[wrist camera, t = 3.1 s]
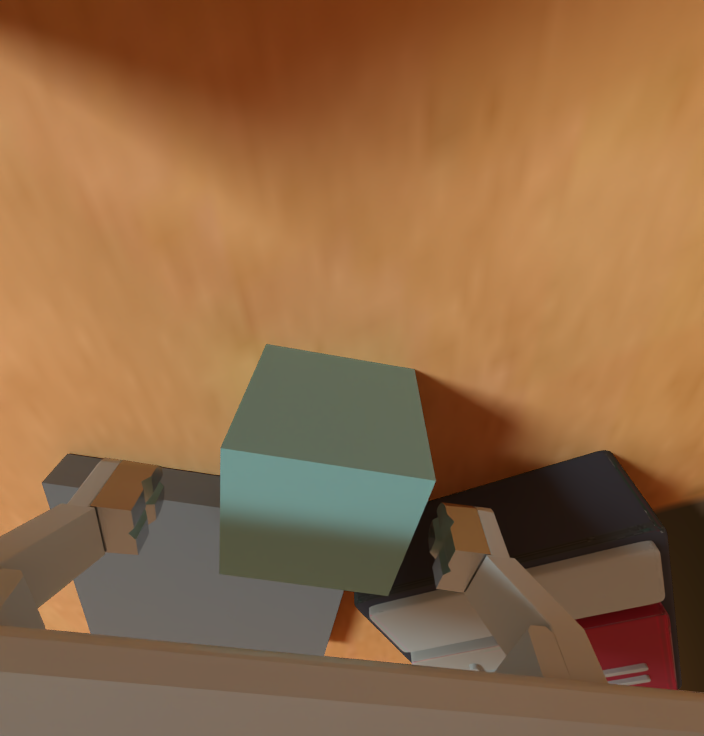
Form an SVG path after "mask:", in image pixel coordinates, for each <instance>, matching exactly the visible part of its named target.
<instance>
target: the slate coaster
mask: <svg viewBox="0 0 704 736" xmlns="http://www.w3.org/2000/svg"><path fill="white" fill-rule="evenodd" d="M101 460H103V459H99V458H92V457H86V456H79V455H72V454H67V455H66V456H65V457H64V458H63V459H62V460H61V462H60V463H59V464H58V465H57V466H56V467H55V468H54V469H53V471H52V472H51V473H50V474H49V475H48V476H47V477H46V478H45V480H44V481H43V482H42V485H43V488H44V491H45V494H46V497H47V500H48V504H49V507H50V509H52V508H54V507H56V506H58V505H59V504H61V503H62V504H68V502H69V501H70V500H71V498H72V497H73V496H74V494H75V493H76V492H77V490H78V489H79V488H80V486H81V485H82V484H83V483H84V481H85V480H86V479H87V477H88V476H89V475H90V473H91V472H92V471H93V469H94V468H95V467H96V465H97V464H98V463H99V462H100V461H101ZM162 471H163V476H162V478H161V480H160V482H161V483H162V484H163V485H164V491H165V493H164V501H163V504H162V508H161V511H160V513H159V515H158V517H157V519H156V520H155V521H153V522H152V523H150V524H149V525H148V527H149V535H148V537H147V539H146V541H145V543H144V545H143V547H142V549H141V551H140V553H139V555H131V554H119V553H107V552H105V555H104V556H102V557H101V558H100V559H99V560H97V561H96V562H95V563H94V564H92V565H91V566H90V567H89V568H87V569H86V570H85V571H84V572H82V573H81V574H80V575H79V576H77V577H76V578H75V579H74V583H75V587H76V590H77V593H78V596H79V599H80V602H81V605H82V608H83V611H84V614H85V617H86V620H87V623H88V626H89V630H90V633H91V634H99V635H110V636H120V637H130V638H141V639H151V640H162V641H172V642H182V643H193V644H203V645H214V646H224V647H235V648H245V649H256V650H266V651H276V652H287V653H297V654H308V655H318V656H324V654H325V650H326V647H327V644H328V641H329V637H330V634H331V631H332V627H333V624H334V621H335V618H336V614H337V611H338V608H339V604H340V601H341V598H342V595H343V591H344V590H337V589H330V588H322V587H314V586H307V585H299V584H292V583H284V582H276V581H269V580H261V579H253V578H246V577H238V576H230V575H223V574H219V557H220V476H215V475H209V474H202V473H195V472H188V471H181V470H174V469H168V468H162Z"/></svg>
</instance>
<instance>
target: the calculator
mask: <svg viewBox="0 0 704 736" xmlns="http://www.w3.org/2000/svg"><path fill="white" fill-rule="evenodd" d="M442 502H443V503H452V504H460V505H469V506H473V507H474V506H475V507H483V508H491V509H492V511H493V512H494V515H495V518H496V520H497V523H498V526H499V529H500V532H501V534H502V537H503V540H504V543H505V545H506V548H507V551H508V554H509V557H510V558H515V559H516V560H517V561H518V562H519V563H520V564H521V565H522V566H523V567H524V568H525V569H526V570H527V571H528V573H529V574H530V575H531V576H532V577H533V578H534V579H535V580H536V581H537V582H538V583H539V584H540V585H541V586H542V587H543V588H544V589H545V590H546V591H547V592H548V593H549V594H550V595H551V596H552V597H553V598H554V599H555V600H556V601H557V602H558V603H559V604H560V605H561V606H562V607H563V608H564V609H565V610H566V611H567V612H568V613H569V614H570V615H571V617H572V618H573V619H574V620H575V621H576V622H577V623H578V624H579V625H580V626H581V627H582V628H583V629H584V630H585V632H586V634H587V637H588V639H589V641H590V643H591V646H592V648H593V650H594V652H595V655H596V657H597V659H598V661H599V663H600V666H601V668H602V670H603V672H604V675H605V677H606V679H607V681H608V683H609V684H619V685H630V686H640V687H651V688H661V689H672V690H678V689H679V688H680V687H681V685H682V681H681V670H680V660H679V650H678V639H677V628H676V618H675V607H674V598H673V586H672V577H671V566H670V555H669V544H668V534H667V531H666V529H665V527H664V526H663V524H662V523H661V521H660V520H659V518H658V517H657V516H656V514H655V513H654V511H653V510H652V508H651V507H650V506H649V504H648V503H647V501H646V500H645V499H644V497H643V496H642V494H641V493H640V492H639V490H638V489H637V487H636V486H635V484H634V483H633V482H632V480H631V479H630V477H629V476H628V475H627V473H626V472H625V470H624V469H623V468H622V466H621V465H620V463H619V462H618V461H617V459H616V458H615V457H614V455H613V454H612V453H611V452H610V451H606V450H602V451H597V452H594V453H590V454H587V455H583V456H580V457H577V458H573V459H570V460H567V461H563V462H560V463H556V464H553V465H550V466H546V467H543V468H540V469H536V470H533V471H530V472H526V473H523V474H519V475H516V476H513V477H509V478H506V479H503V480H499V481H496V482H493V483H489V484H486V485H482V486H479V487H476V488H472V489H469V490H466V491H462V492H459V493H456V494H452V495H449V496H445V497H442V498H439V499H435V500H432V501H429V502H427V503H426V506H425V508H424V511H423V513H422V515H421V518H420V520H419V523H418V525H417V528H416V530H415V532H414V535H413V537H412V540H411V542H410V544H409V547H408V549H407V552H406V554H405V556H404V559H403V561H402V564H401V566H400V568H399V571H398V573H397V576H396V578H395V580H394V583H393V585H392V588H391V590H390V592H389V595H388V596H383V595H376V594H368V593H360V592H354V603H355V606H356V608H357V609H358V610H359V611H360V612H361V613H362V614H363V615H364V616H365V617H366V618H367V619H368V620H369V621H370V622H371V623H372V624H373V625H374V626H375V627H376V628H377V629H378V630H379V631H380V632H381V633H382V634H383V635H384V636H385V637H386V638H387V639H388V640H389V641H390V642H391V643H392V644H393V645H394V646H395V647H396V648H397V649H398V650H399V651H400V652H401V653H402V654H403V655H404V656H405V657H406V658H407V659H408V660H409V661H410V662H411V663H412V665H421V666H432V667H442V668H452V669H463V670H473V671H484V672H495V670H496V669H497V668H498V666H499V665H500V664H501V663H502V661H503V660H504V659H505V657H506V655H505V653H504V652H503V650H502V649H501V647H500V646H499V644H498V643H497V642H496V640H495V639H494V637H493V636H492V634H491V633H490V631H489V630H488V628H487V627H486V625H485V624H484V622H483V621H482V620H481V618H480V617H479V615H478V614H477V612H476V611H475V609H474V608H473V606H472V605H471V603H470V602H469V601H468V599H467V598H466V596H465V595H464V594H465V593H462V592H455V591H448V590H441V589H436V585H435V579H434V574H433V568H432V566H433V564H434V562H435V560H436V559H435V558H434V557H433V556H432V554H431V553H430V550H429V542H428V536H429V528H430V525H431V523H432V520H434V519H435V518H437V517H438V515H437V508H438V506H439V504H441V503H442Z"/></svg>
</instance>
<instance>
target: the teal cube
mask: <svg viewBox="0 0 704 736" xmlns="http://www.w3.org/2000/svg"><path fill="white" fill-rule="evenodd" d="M435 482H436V479H435V473H434V468H433V463H432V458H431V453H430V447H429V442H428V437H427V432H426V426H425V421H424V416H423V411H422V406H421V400H420V395H419V390H418V385H417V379H416V374H415V369H410V368H404V367H398V366H392V365H386V364H381V363H375V362H369V361H363V360H357V359H351V358H345V357H339V356H334V355H328V354H322V353H316V352H310V351H304V350H298V349H292V348H287V347H281V346H275V345H269V344H266V346H265V348H264V351H263V353H262V355H261V358H260V360H259V362H258V364H257V367H256V369H255V371H254V373H253V376H252V378H251V380H250V383H249V385H248V387H247V389H246V392H245V394H244V396H243V398H242V401H241V403H240V405H239V408H238V410H237V412H236V414H235V417H234V419H233V421H232V423H231V426H230V428H229V430H228V433H227V435H226V437H225V439H224V442H223V444H222V446H221V462H220V557H219V574H223V575H230V576H238V577H246V578H253V579H261V580H269V581H276V582H284V583H292V584H299V585H307V586H314V587H322V588H330V589H337V590H345V591H353V592H360V593H368V594H376V595H383V596H388V595H389V592H390V590H391V588H392V585H393V583H394V580H395V578H396V576H397V573H398V571H399V568H400V566H401V564H402V561H403V559H404V556H405V554H406V552H407V549H408V547H409V544H410V542H411V540H412V537H413V535H414V532H415V530H416V528H417V525H418V523H419V520H420V518H421V515H422V513H423V511H424V508H425V506H426V503H427V501H428V499H429V496H430V494H431V491H432V489H433V487H434V484H435Z"/></svg>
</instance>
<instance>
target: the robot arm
mask: <svg viewBox="0 0 704 736" xmlns="http://www.w3.org/2000/svg"><path fill="white" fill-rule="evenodd" d="M162 476H163V471H162V467H161V466H158V465H151V464H145V463H138V462H132V461H126V460H118V459H111V458H104V459H103V460H101V461H100V462H99V463H98V464H97V465H96V467H95V468H94V469H93V471H92V472H91V473H90V475H89V476H88V477H87V479H86V480H85V481H84V483H83V484H82V485H81V486H80V488H79V489H78V490H77V492H76V493H75V494H74V496H73V497H72V498H71V500H70V501H69V502H68V504H62V503H61V504H59V505H58V506H56V507H54V508H52V509H50V510H48V511H46V512H45V513H43V514H41V515H39V516H37V517H35V518H34V519H32V520H30V521H28V522H26V523H24V524H22V525H21V526H19V527H17V528H15V529H13V530H11V531H10V532H8V533H6V534H4V535H2V536H0V736H704V693H703V692H692V691H682V690H672V689H661V688H651V687H640V686H630V685H619V684H609V683H608V681H607V679H606V677H605V675H604V672H603V670H602V668H601V666H600V663H599V661H598V659H597V657H596V655H595V652H594V650H593V648H592V646H591V643H590V641H589V639H588V637H587V634H586V632H585V630H584V629H583V628H582V627H581V626H580V625H579V624H578V623H577V622H576V621H575V620H574V619H573V618H572V617H571V615H570V614H569V613H568V612H567V611H566V610H565V609H564V608H563V607H562V606H561V605H560V604H559V603H558V602H557V601H556V600H555V599H554V598H553V597H552V596H551V595H550V594H549V593H548V592H547V591H546V590H545V589H544V588H543V587H542V586H541V585H540V584H539V583H538V582H537V581H536V580H535V579H534V578H533V577H532V576H531V575H530V574H529V573H528V571H527V570H526V569H525V568H524V567H523V566H522V565H521V564H520V563H519V562H518V561H517V560H516V559H515V558H510V557H509V554H508V551H507V548H506V545H505V543H504V540H503V537H502V534H501V532H500V529H499V526H498V523H497V520H496V518H495V515H494V512H493V511H492V509H491V508H483V507H475V506H474V507H473V506H469V505H460V504H452V503H443V502H442V503H441V504H439V506H438V508H437V515H438V517H437V518H435V519H434V520H432V523H431V525H430V528H429V536H428V542H429V550H430V553H431V554H432V556H433V557H434V558H435V559H436V560H435V562H434V564H433V566H432V568H433V574H434V579H435V585H436V589H441V590H448V591H455V592H462V593H465V594H464V595H465V596H466V598H467V599H468V601H469V602H470V603H471V605H472V606H473V608H474V609H475V611H476V612H477V614H478V615H479V617H480V618H481V620H482V621H483V622H484V624H485V625H486V627H487V628H488V630H489V631H490V633H491V634H492V636H493V637H494V639H495V640H496V642H497V643H498V644H499V646H500V647H501V649H502V650H503V652H504V653H505V655H506V657H505V659H504V660H503V661H502V663H501V664H500V665H499V666H498V668H497V669H496V670H495V672H484V671H473V670H463V669H452V668H442V667H432V666H421V665H411V664H401V663H390V662H380V661H370V660H359V659H349V658H339V657H328V656H318V655H308V654H297V653H287V652H276V651H266V650H256V649H245V648H235V647H224V646H214V645H203V644H193V643H182V642H172V641H162V640H151V639H141V638H130V637H120V636H110V635H99V634H89V633H78V632H68V631H57V630H47V629H45V625H44V623H43V620H42V618H41V616H40V613H39V611H38V609H37V608H39V607H40V606H41V605H42V604H44V603H45V602H46V601H47V600H49V599H50V598H51V597H52V596H54V595H55V594H56V593H57V592H59V591H60V590H61V589H62V588H64V587H65V586H66V585H67V584H69V583H70V582H71V581H72V580H74V579H75V578H76V577H77V576H79V575H80V574H81V573H82V572H84V571H85V570H86V569H87V568H89V567H90V566H91V565H92V564H94V563H95V562H96V561H97V560H99V559H100V558H101V557H102V556H104V555H105V552H107V553H119V554H131V555H139V553H140V551H141V549H142V547H143V545H144V543H145V541H146V539H147V537H148V535H149V527H148V525H149V524H150V523H152V522H153V521H155V520H156V519H157V517H158V515H159V513H160V511H161V508H162V504H163V501H164V493H165V491H164V485H163V484H162V483H161V482H160V480H161V478H162Z"/></svg>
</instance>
